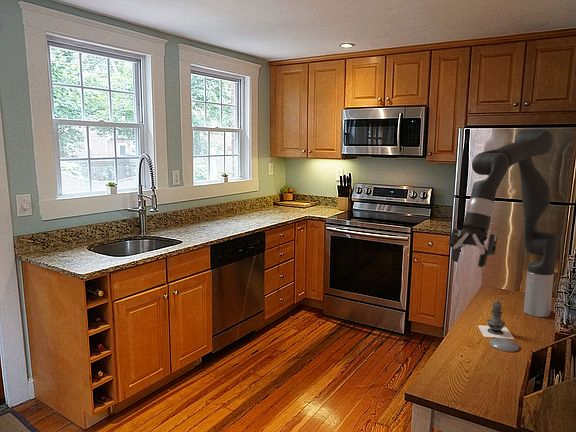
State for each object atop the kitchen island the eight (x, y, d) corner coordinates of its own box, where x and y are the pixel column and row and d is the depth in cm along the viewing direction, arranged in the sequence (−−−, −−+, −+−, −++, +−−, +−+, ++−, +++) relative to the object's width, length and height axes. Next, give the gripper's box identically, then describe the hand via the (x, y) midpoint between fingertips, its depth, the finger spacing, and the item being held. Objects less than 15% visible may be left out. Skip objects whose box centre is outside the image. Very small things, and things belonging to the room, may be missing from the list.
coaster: (486, 338, 153) (486, 337, 153) (514, 340, 151) (514, 339, 151) (493, 350, 144) (493, 348, 144) (522, 352, 143) (522, 351, 142)
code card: (477, 325, 164) (477, 325, 164) (506, 327, 162) (506, 327, 162) (484, 336, 155) (484, 336, 155) (514, 339, 153) (514, 338, 153)
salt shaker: (506, 335, 155) (508, 303, 153) (488, 334, 156) (491, 302, 154) (501, 328, 161) (504, 297, 159) (484, 327, 162) (487, 296, 160)
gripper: (506, 219, 134) (495, 270, 133) (463, 214, 145) (452, 261, 144) (495, 213, 129) (483, 266, 128) (452, 209, 140) (440, 257, 140)
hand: (467, 264), depth 136 cm, fingers open, 8 cm apart
